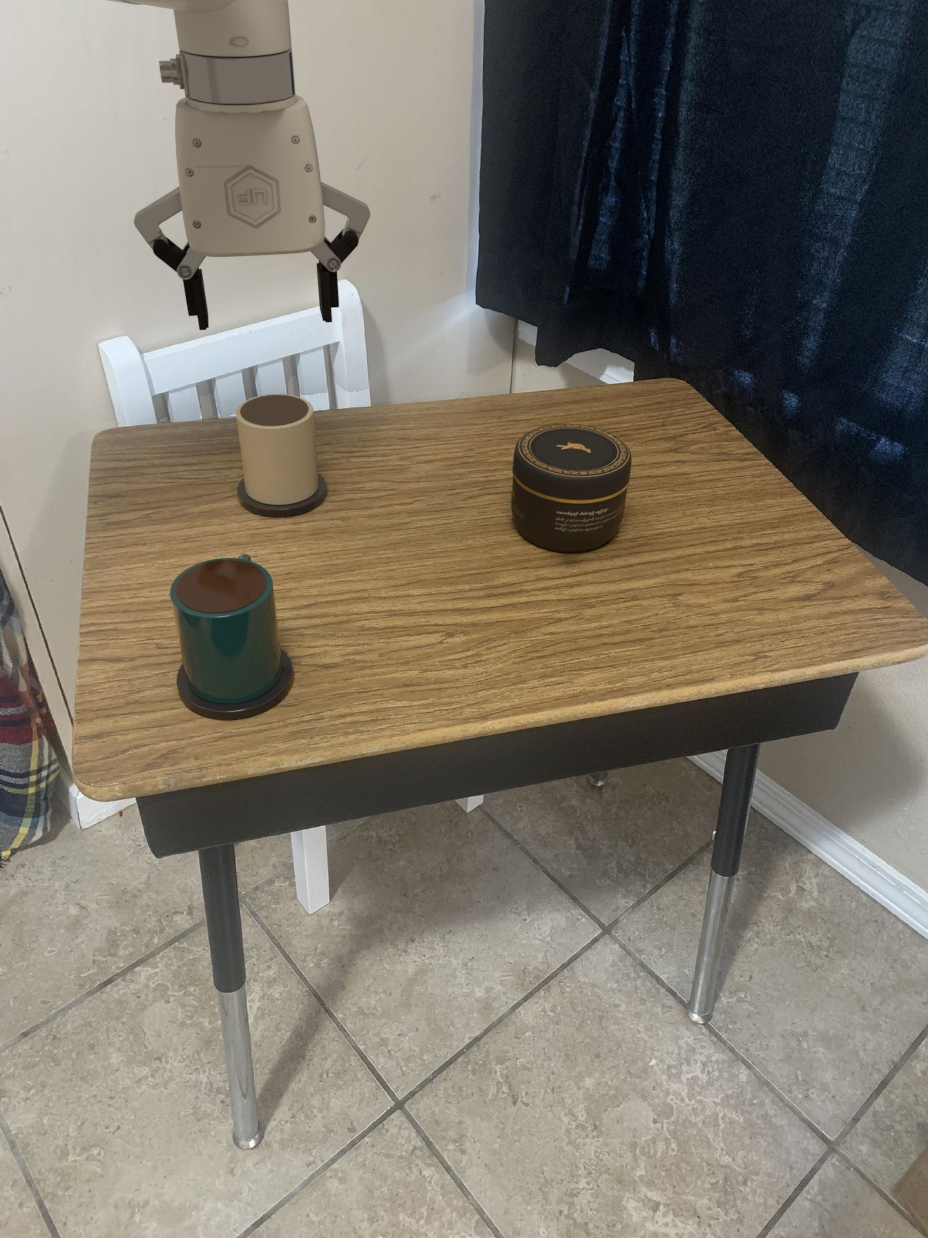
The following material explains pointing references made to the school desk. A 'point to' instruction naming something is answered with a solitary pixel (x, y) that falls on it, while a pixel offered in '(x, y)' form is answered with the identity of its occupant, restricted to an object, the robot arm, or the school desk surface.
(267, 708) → the saucer front
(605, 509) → the jar
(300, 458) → the cup back
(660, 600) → the school desk surface
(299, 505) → the dark grey round coaster
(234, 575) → the cup front
